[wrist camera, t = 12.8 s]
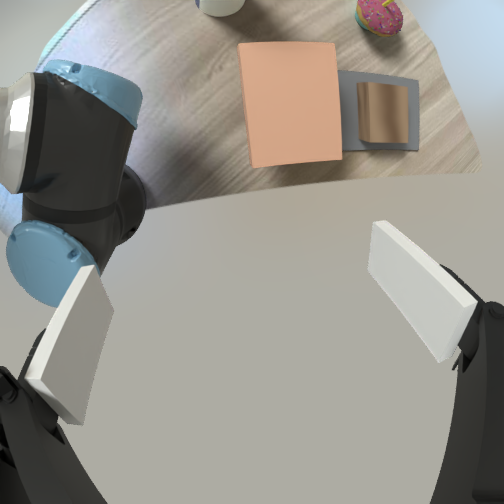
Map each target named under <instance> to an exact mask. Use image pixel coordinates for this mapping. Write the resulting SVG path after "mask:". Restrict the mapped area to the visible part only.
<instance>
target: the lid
mask: <svg viewBox="0 0 504 504" xmlns="http://www.w3.org/2000/svg"><path fill="white" fill-rule="evenodd" d="M237 53H238V62H239V70H240V79H241V88H242V96H243V105H244V114H245V123H246V132H247V141H248V150H249V159H250V165H251V166H252V168H259V167H267V166H275V165H284V164H294V163H304V162H316V161H329V160H342V134H341V112H340V96H339V83H338V72H337V62H336V52H335V44H334V43H323V42H295V41H280V42H252V43H239V44H238V46H237Z"/></svg>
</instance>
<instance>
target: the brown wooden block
mask: <svg viewBox="0 0 504 504" xmlns="http://www.w3.org/2000/svg"><path fill="white" fill-rule="evenodd" d="M356 85H357V103H358V136H359V139H361V140H364V141H367V142H370V143H371V142H380V143H408V87H405V86H398V85H390V84H382V83H373V82H359V83H356Z"/></svg>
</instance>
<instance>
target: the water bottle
mask: <svg viewBox="0 0 504 504" xmlns="http://www.w3.org/2000/svg"><path fill="white" fill-rule="evenodd" d="M195 2H196V5H197V7H198V8H199V9H200V10H201V11H202V12H204V13H205V14H208V15H210V16H216V17H223V16H228V15H231V14H234V13H235V12H237V11H238V10H239V9H241V7H242V6H243V4H244V2H245V0H195Z"/></svg>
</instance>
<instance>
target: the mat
mask: <svg viewBox="0 0 504 504" xmlns="http://www.w3.org/2000/svg"><path fill="white" fill-rule="evenodd" d="M337 72H338V83H339V96H340V112H341V134H342V151H344V150H419V84H418V80H413V79H408V78H402V77H396V76H389V75H382V74H374V73H365V72H354V71H341V70H337ZM359 82H373V83H382V84H390V85H398V86H405V87H408V143H380V142H371V143H370V142H367V141H364V140H361V139H359V136H358V103H357V85H356V83H359Z"/></svg>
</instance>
